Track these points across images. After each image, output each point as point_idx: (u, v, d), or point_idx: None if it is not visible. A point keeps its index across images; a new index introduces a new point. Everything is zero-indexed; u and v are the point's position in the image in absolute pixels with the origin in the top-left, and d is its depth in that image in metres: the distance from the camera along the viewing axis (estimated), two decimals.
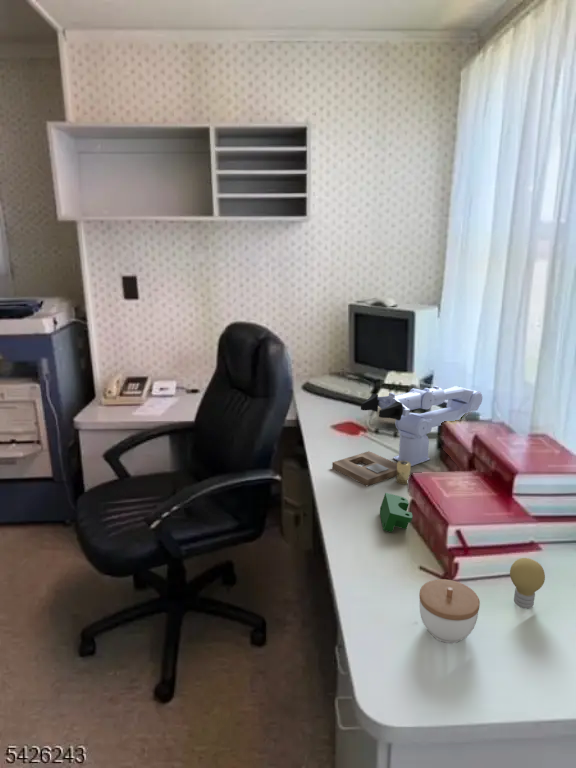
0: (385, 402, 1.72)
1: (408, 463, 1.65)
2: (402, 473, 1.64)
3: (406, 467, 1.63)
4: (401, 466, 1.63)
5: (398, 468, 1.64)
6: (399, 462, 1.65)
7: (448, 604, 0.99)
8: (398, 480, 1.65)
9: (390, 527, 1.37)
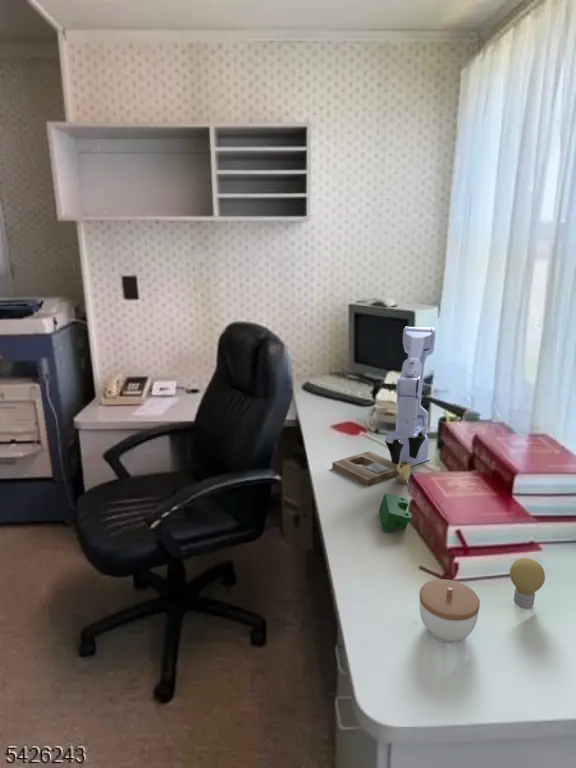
0: None
1: (408, 463, 1.65)
2: (402, 473, 1.64)
3: (406, 467, 1.63)
4: (401, 466, 1.63)
5: (398, 468, 1.64)
6: (399, 462, 1.65)
7: (448, 604, 0.99)
8: (398, 480, 1.65)
9: (390, 527, 1.37)
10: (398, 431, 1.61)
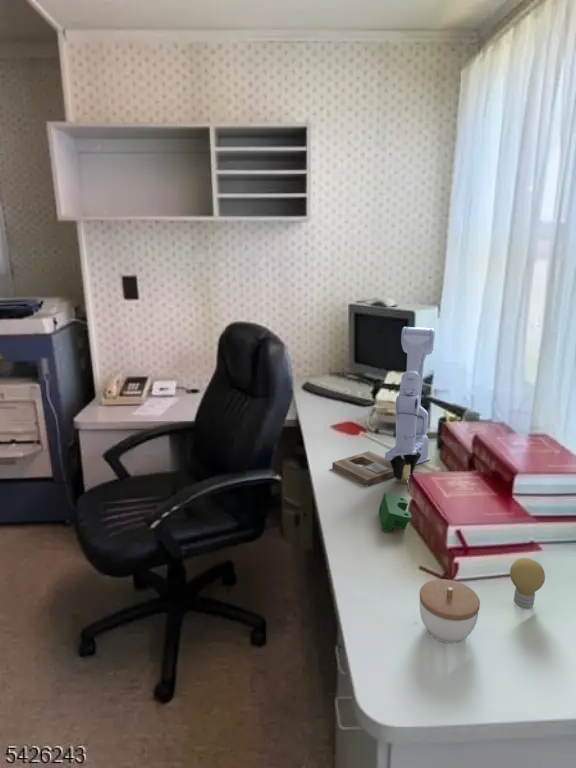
0: None
1: (408, 463, 1.65)
2: (402, 473, 1.64)
3: (406, 467, 1.63)
4: None
5: None
6: None
7: (448, 604, 0.99)
8: (398, 480, 1.65)
9: (389, 527, 1.37)
10: (397, 448, 1.62)
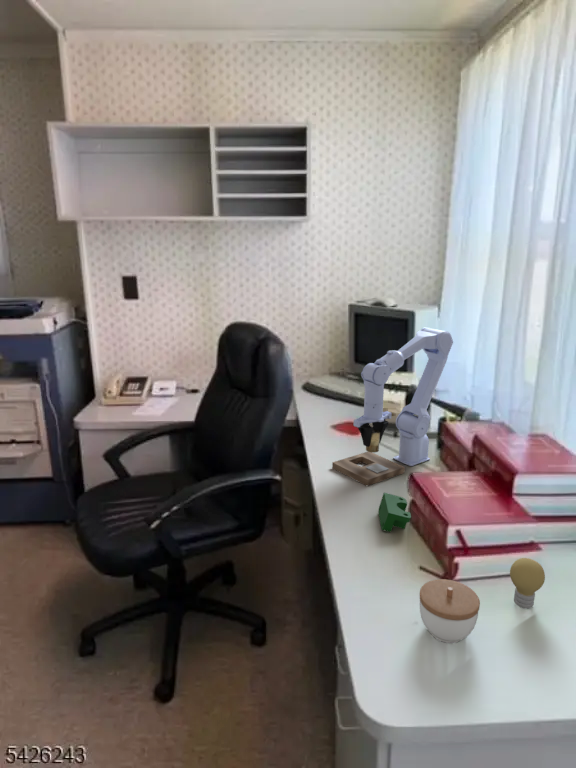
0: None
1: (377, 432, 1.70)
2: (371, 442, 1.69)
3: (376, 435, 1.69)
4: (371, 435, 1.69)
5: None
6: None
7: (448, 604, 0.99)
8: (368, 448, 1.71)
9: (389, 527, 1.37)
10: (365, 416, 1.68)
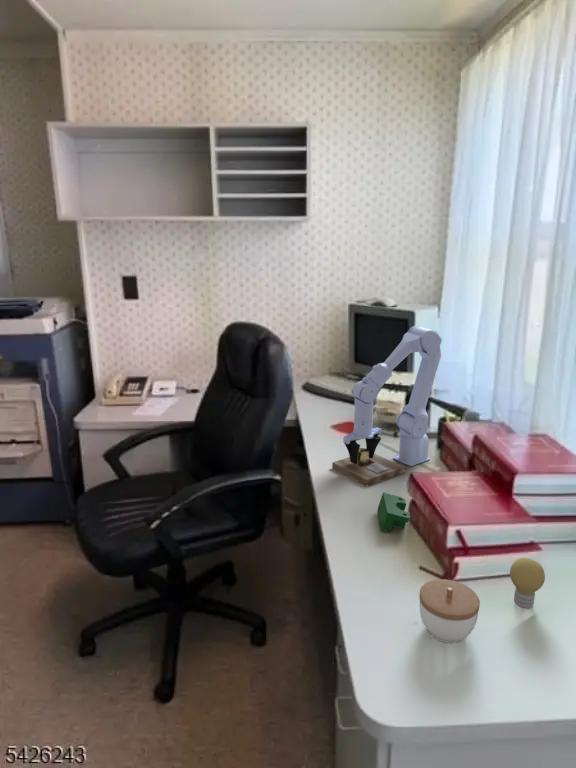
0: None
1: (366, 450, 1.75)
2: (361, 460, 1.74)
3: (365, 454, 1.73)
4: (360, 453, 1.73)
5: None
6: None
7: (448, 604, 0.99)
8: None
9: (388, 527, 1.37)
10: (355, 432, 1.72)
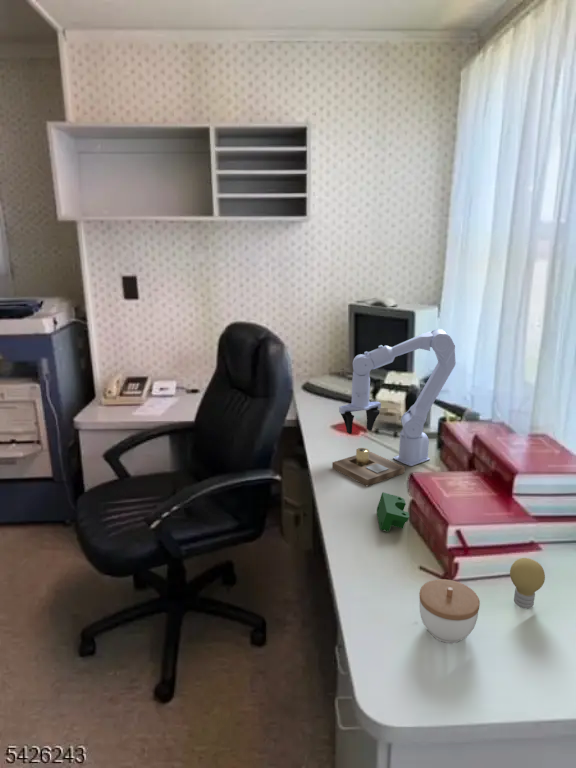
0: None
1: (366, 450, 1.75)
2: (361, 460, 1.74)
3: (365, 454, 1.73)
4: (360, 453, 1.73)
5: (357, 455, 1.74)
6: (358, 449, 1.75)
7: (448, 604, 0.99)
8: None
9: (387, 527, 1.37)
10: (352, 404, 1.78)
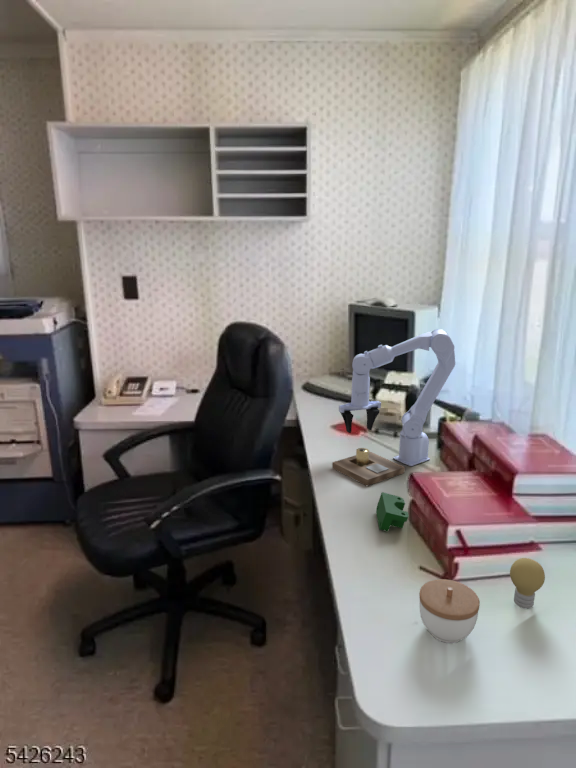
0: None
1: (366, 450, 1.75)
2: (361, 460, 1.74)
3: (364, 454, 1.73)
4: (360, 453, 1.73)
5: (357, 455, 1.74)
6: (358, 449, 1.75)
7: (448, 604, 0.99)
8: None
9: (386, 526, 1.37)
10: (351, 403, 1.79)
